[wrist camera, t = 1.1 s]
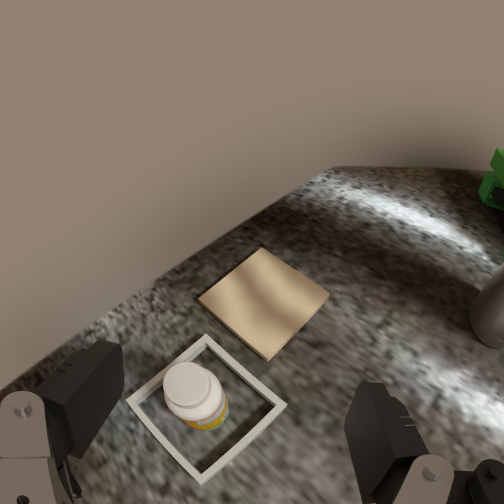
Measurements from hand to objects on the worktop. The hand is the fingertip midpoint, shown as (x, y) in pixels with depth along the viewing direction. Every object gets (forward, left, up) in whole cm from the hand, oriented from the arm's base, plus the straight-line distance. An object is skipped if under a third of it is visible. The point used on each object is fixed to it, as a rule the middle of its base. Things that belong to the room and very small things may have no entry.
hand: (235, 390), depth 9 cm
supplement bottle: (0, -7, -25) cm, 26 cm away
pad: (-15, -12, -24) cm, 31 cm away
